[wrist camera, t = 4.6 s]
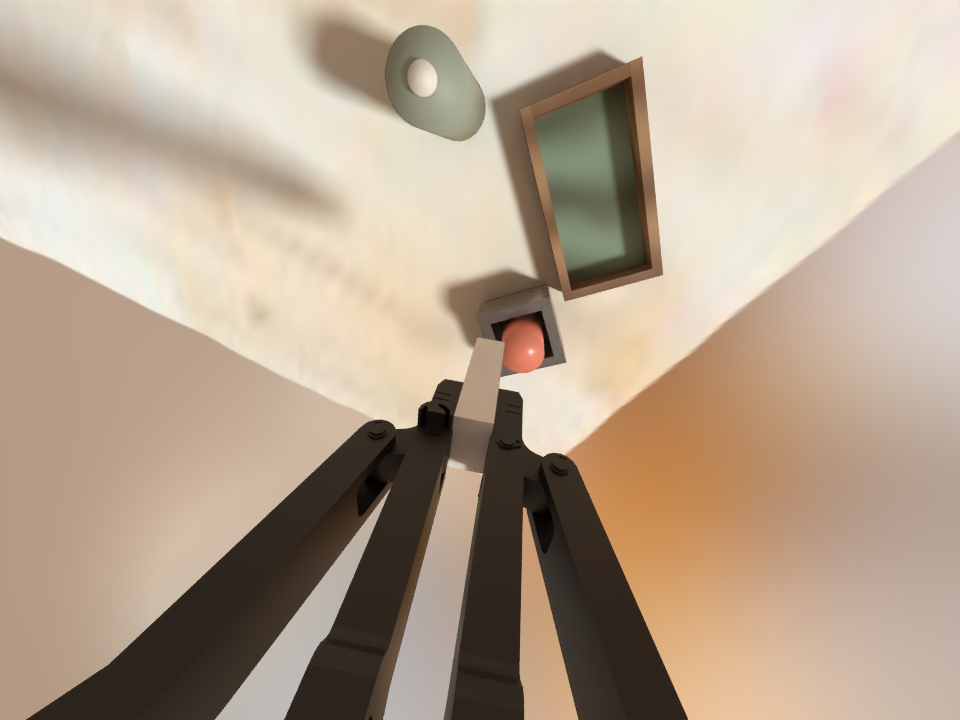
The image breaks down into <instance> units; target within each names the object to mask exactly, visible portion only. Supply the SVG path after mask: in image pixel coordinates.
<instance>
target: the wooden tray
mask: <svg viewBox="0 0 960 720" xmlns="http://www.w3.org/2000/svg"><path fill="white" fill-rule="evenodd" d="M520 115H521V119H522V123H523V128H524V132H525V136H526V140H527V145H528V149H529V153H530V157H531V161H532V166H533V170H534V174H535V178H536V183H537V187H538V191H539V195H540V200H541V204H542V208H543V212H544V216H545V221H546V225H547V229H548V233H549V238H550V242H551V246H552V250H553V254H554V259H555V263H556V267H557V271H558V276H559V280H560V284H561V288H562V292H563V296H564V300H565V301H568V300H572V299H575V298H579V297H583V296H587V295H590V294H594V293H598V292H601V291H605V290H609V289H613V288H616V287H620V286H624V285H627V284H631V283H635V282H639V281H642V280H646V279H650V278H653V277H657V276H661V275H663V269H662V258H661V248H660V238H659V227H658V217H657V206H656V196H655V185H654V175H653V164H652V154H651V144H650V133H649V123H648V112H647V102H646V91H645V81H644V70H643V60H642V57H640V58H637V59H635V60H633V61H631V62H628V63H626V64H624V65H621V66H619V67H617V68H615V69H612V70H610V71H608V72H605V73H603V74H601V75H599V76H596V77H594V78H592V79H589V80H587V81H585V82H583V83H580V84H578V85H576V86H573V87H571V88H569V89H567V90H564V91H562V92H560V93H557V94H555V95H553V96H551V97H548V98H546V99H544V100H542V101H539V102H537V103H535V104H532V105H530V106H528V107H526V108H523V109H521V110H520Z"/></svg>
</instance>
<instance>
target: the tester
mask: <svg viewBox="0 0 960 720" xmlns="http://www.w3.org/2000/svg"><path fill="white" fill-rule="evenodd" d="M541 310H542V314H543V318H544V321H545V325H546V329H547V332H548V336H549V339H548V340H544V359H543V362H542V363H541V365H540V366H539V367H538V368H537V369H539V368H544V367H548V366H553V365H557V364H562V363H566V358H565V352H564V347H563V342H562V338H561V334H560V330H559V326H558V322H557V319H556V315H555V311H554V307H553V303H552V299H551V295H550V291H549V287H548V284H547V285H544V286H540V287H537V288H533V289H530V290H526V291H523V292H519V293H516V294H512V295H509V296H505V297H502V298H498V299H495V300H491V301H488V302H484V303H482V306H481V308H480V311H479V314H478V317H477V318H478V321H479V324H480V326H481V329H482V332H483V335H484V337H485V339H490V340H495V341H500V342H502V336H503V334H502V331H501V328H500V325H499V322H500V321H504V320H507V319H511V318H515V317H519V316H522V315H526V314H530V313H534V312H537V311H541ZM512 374H517V372H514V371H511V370H509V369H508V368H507V367H506V366H505V365H504V364H503V363H502V368H501V375H500V377H503V376H508V375H512Z"/></svg>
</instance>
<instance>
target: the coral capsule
mask: <svg viewBox="0 0 960 720" xmlns="http://www.w3.org/2000/svg"><path fill="white" fill-rule="evenodd" d="M502 342H505V346H504V353H503V360H502V363H503V364H504V365H505V366H506V367H507V368H508V369H509V370H511V371H514V372H517V373H528V372H531V371H533V370H535V369H537V368H538V367H539V366H540V365H541V363H542V362H543V359H544V341H543V327H542V321H541V319H540V317H539V316H538V315H537V314H536V313H530V314H526V315H522V316H519V317H515V318H511V319H507V320H506V321H505V324H504V330H503V336H502Z"/></svg>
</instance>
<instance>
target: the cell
mask: <svg viewBox="0 0 960 720" xmlns="http://www.w3.org/2000/svg"><path fill="white" fill-rule="evenodd" d="M385 80H386V87H387V92H388V95H389V98H390V100H391V103H392V105H393V107H394V108H395V110H396V111H397V113H398V114H399V115H400V116H401V117H402V119H404V120H405V121H406V122H407V123H409V124H410V125H412V126H414V127H416V128H419V129H422V130H425V131H427V132H430V133H433V134H436V135H439V136H441V137H444V138H447V139H450V140H453V141H464V140H467V139H469V138H471V137H472V136H473V135H474V134H476V133H477V131H478V130H479V128H480V127H481V125H482V123H483V120H484V116H485V98H484V94H483V91H482V89H481V87H480V85H479V84H478V82H477V80H476V79H475V77H474V76H473V74H472V72H471V71H470V69H469V68H468V66H467V64H466V63H465V61H464V59H463V58H462V56H461V55H460V53H459V51H458V50H457V48H456V47H455V45H454V43H453V42H452V41H451V40H450V38H449V37H448V36H447V35H446V34H444V33H443V32H442V31H440V30H439V29H437V28H435V27H431V26H426V25H418V26H414V27H411V28H409V29H407V30H406V31H404V32H403V33H402V34H401V35H399V36H398V38H397V39H396V40H395V42H394V43H393V45H392V47H391V49H390V51H389V54H388V57H387V62H386V69H385Z"/></svg>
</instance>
